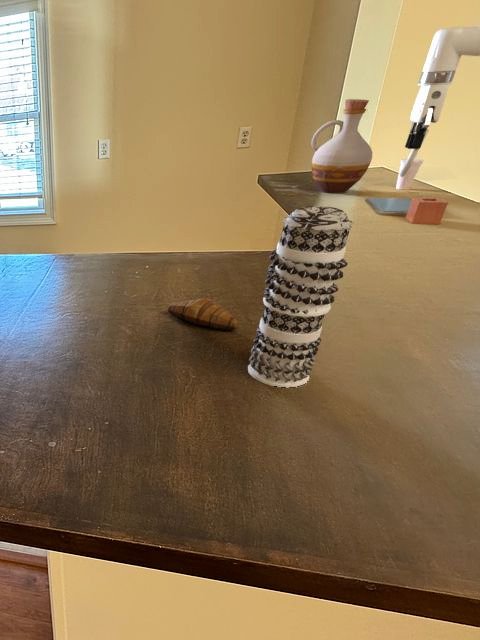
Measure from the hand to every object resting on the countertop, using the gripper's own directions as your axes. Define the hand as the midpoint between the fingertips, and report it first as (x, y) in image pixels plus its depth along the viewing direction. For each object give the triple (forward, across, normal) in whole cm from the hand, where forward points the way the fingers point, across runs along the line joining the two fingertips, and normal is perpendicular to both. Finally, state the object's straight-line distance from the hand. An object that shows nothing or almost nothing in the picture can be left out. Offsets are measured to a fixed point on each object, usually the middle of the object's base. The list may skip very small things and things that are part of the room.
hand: (412, 147), depth 147 cm
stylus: (+9, 0, 0) cm, 9 cm away
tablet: (+17, -5, 0) cm, 18 cm away
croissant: (+18, -106, +53) cm, 120 cm away
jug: (+17, +21, +15) cm, 31 cm away
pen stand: (+17, -22, -2) cm, 27 cm away
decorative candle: (+17, -122, +41) cm, 130 cm away
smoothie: (+17, +26, -8) cm, 32 cm away
